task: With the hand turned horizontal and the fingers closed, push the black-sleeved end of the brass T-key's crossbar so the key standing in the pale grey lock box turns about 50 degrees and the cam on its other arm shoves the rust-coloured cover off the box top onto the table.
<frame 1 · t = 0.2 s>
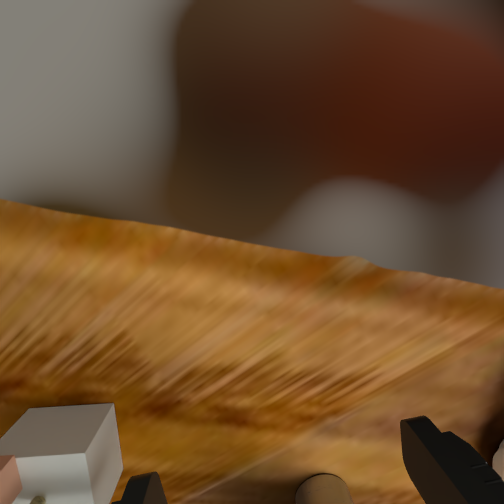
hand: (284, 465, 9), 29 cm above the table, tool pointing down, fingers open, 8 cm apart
lock box: (78, 439, 42), on the table
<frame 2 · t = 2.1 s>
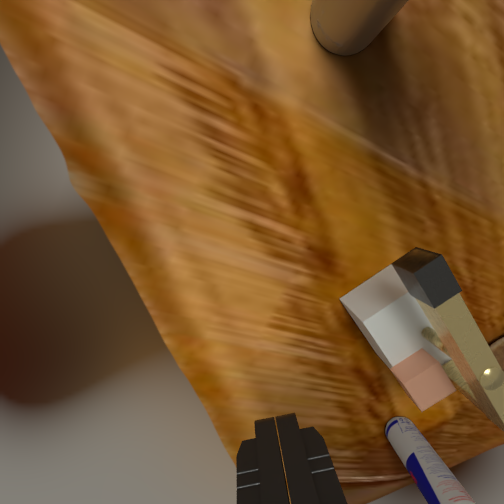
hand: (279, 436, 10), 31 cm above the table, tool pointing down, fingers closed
cover: (414, 371, 37), point 8 cm above the table, touching lock box
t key: (444, 332, 30), point 13 cm above the table, hinge at 0.0°
beverage can: (396, 425, 48), on the table
lock box: (390, 306, 43), on the table
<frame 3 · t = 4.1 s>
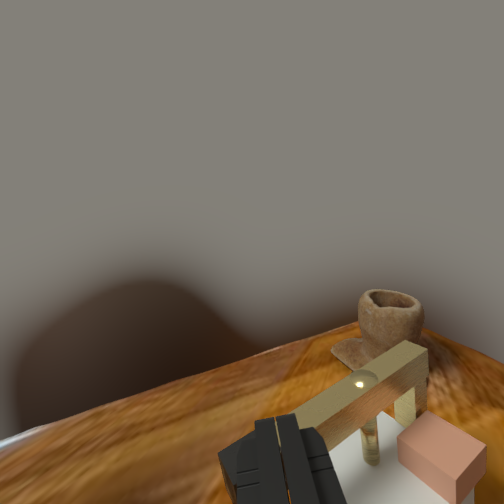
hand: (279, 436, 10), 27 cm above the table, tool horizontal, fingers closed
stone cup: (381, 369, 51), on the table
cover: (440, 466, 26), point 8 cm above the table, touching lock box
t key: (345, 436, 25), point 13 cm above the table, hinge at 0.0°
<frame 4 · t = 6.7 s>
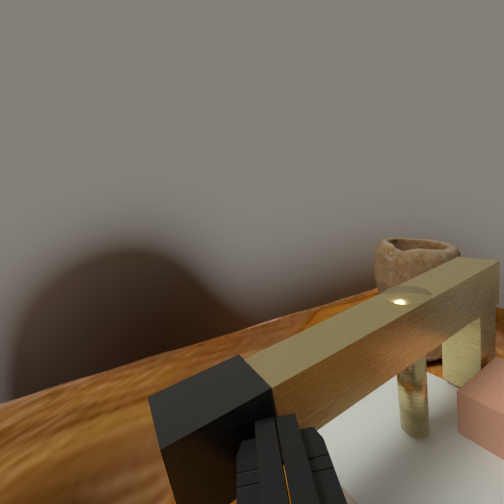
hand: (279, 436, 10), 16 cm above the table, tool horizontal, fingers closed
stone cup: (403, 336, 41), on the table
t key: (377, 386, 15), point 13 cm above the table, hinge at 0.2°, touching gripper
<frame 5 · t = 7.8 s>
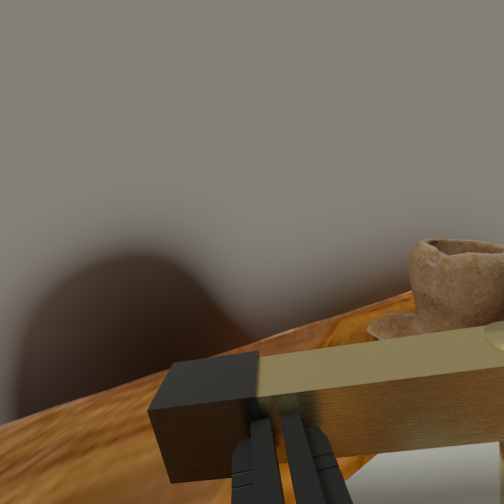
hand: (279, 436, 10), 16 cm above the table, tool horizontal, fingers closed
stone cup: (444, 354, 35), on the table
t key: (446, 446, 11), point 13 cm above the table, hinge at 30.9°, touching gripper
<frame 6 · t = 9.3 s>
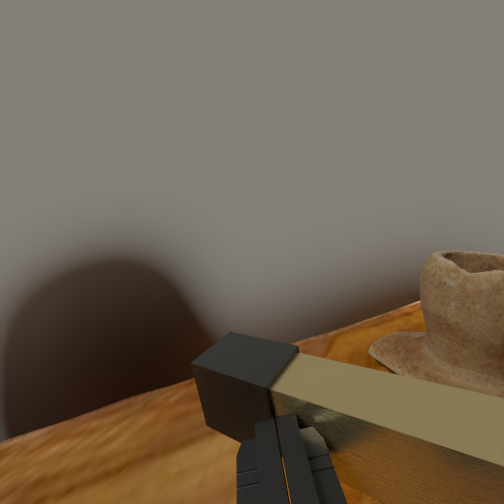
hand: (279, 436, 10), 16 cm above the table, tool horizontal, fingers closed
stone cup: (457, 382, 31), on the table
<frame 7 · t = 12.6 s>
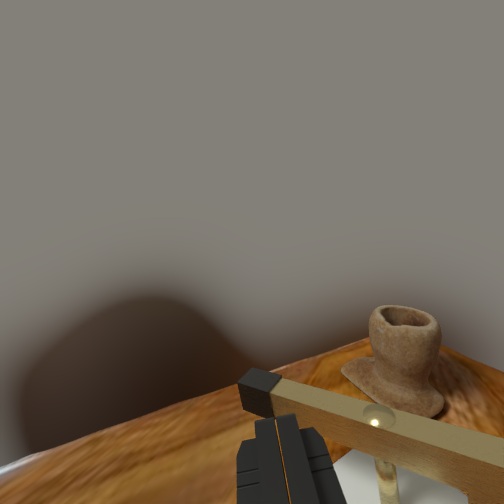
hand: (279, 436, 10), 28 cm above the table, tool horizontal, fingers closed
stone cup: (396, 392, 47), on the table
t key: (348, 447, 25), point 13 cm above the table, hinge at 63.9°
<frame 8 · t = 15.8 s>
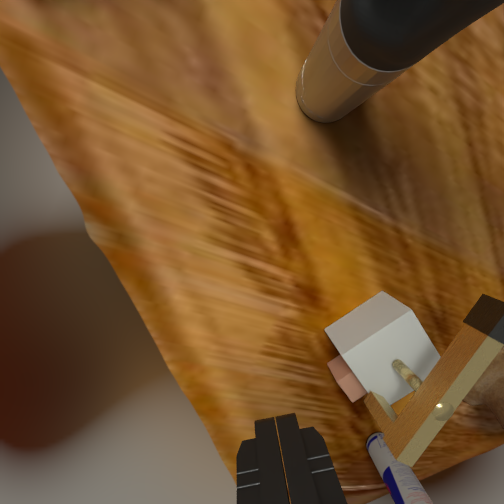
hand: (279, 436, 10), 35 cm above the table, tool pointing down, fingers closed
stone cup: (489, 371, 52), on the table
cover: (353, 372, 47), point 2 cm above the table, tilted 90°
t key: (431, 367, 35), point 13 cm above the table, hinge at 63.9°
beverage can: (376, 439, 53), on the table
lock box: (369, 335, 49), on the table
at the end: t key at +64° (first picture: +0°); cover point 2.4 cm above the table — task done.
